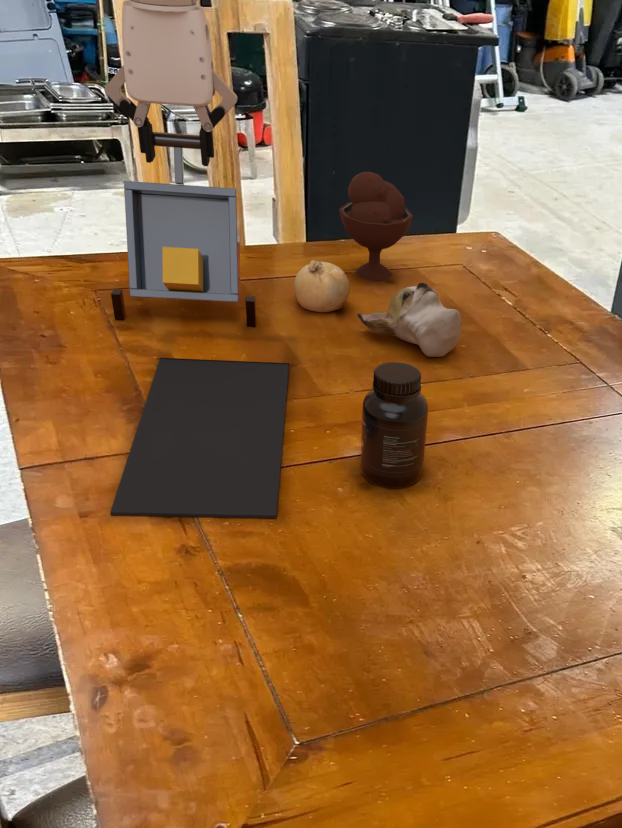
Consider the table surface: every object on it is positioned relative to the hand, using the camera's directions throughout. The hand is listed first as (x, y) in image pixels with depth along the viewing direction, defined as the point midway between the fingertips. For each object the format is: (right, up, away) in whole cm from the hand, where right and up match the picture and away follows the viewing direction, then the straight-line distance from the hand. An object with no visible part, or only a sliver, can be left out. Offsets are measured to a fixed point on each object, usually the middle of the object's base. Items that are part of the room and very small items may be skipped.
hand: (178, 160), depth 112 cm
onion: (+16, -13, +16) cm, 27 cm away
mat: (+7, -34, -8) cm, 35 cm away
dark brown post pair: (-1, -18, +8) cm, 20 cm away
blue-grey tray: (-1, -5, +6) cm, 8 cm away
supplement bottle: (+28, -42, -15) cm, 52 cm away
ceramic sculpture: (+30, -20, +11) cm, 37 cm away
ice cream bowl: (+22, -4, +28) cm, 36 cm away
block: (-1, -10, +4) cm, 11 cm away
